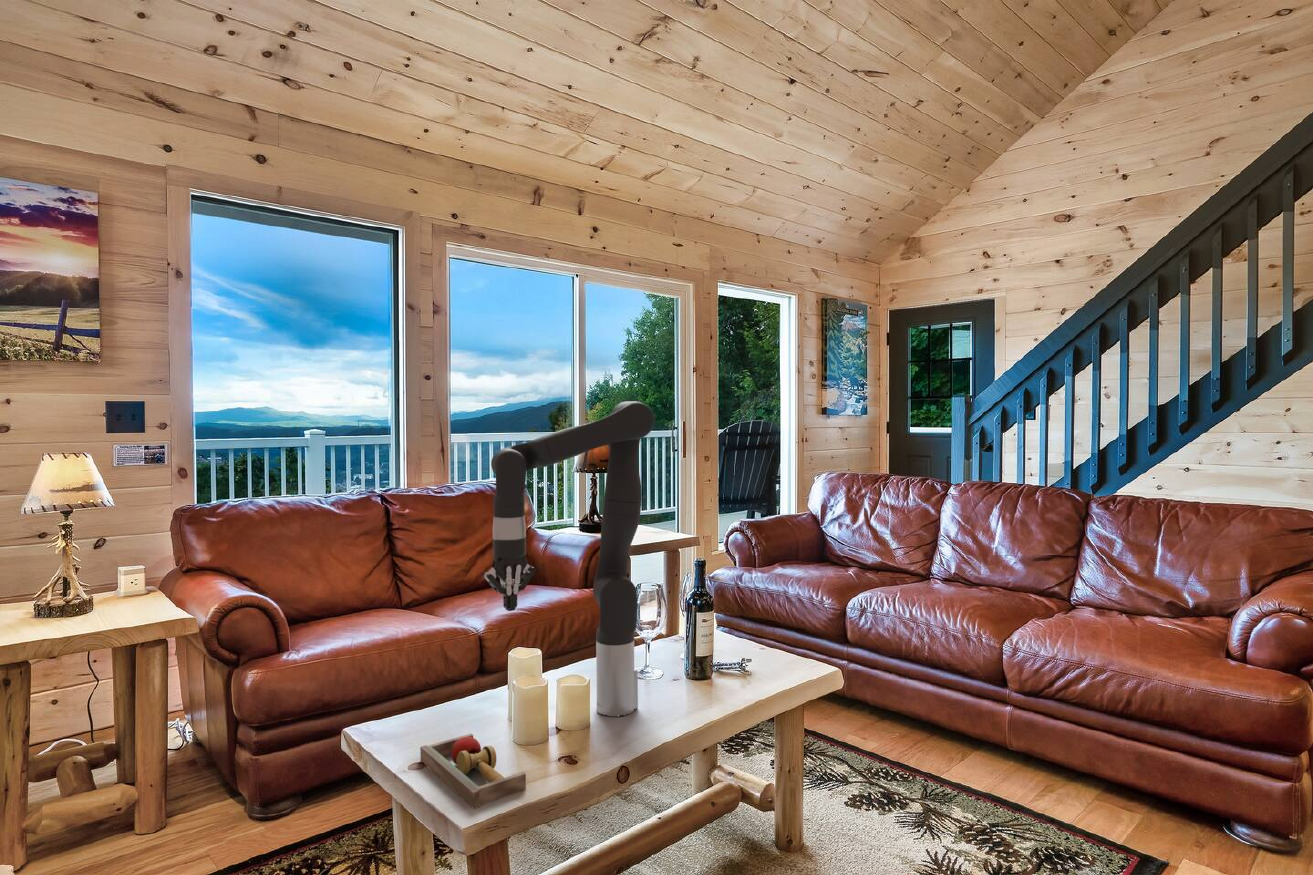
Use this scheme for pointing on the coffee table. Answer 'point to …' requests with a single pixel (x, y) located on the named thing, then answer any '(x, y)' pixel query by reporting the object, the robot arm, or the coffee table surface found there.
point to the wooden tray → (462, 783)
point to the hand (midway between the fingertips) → (510, 609)
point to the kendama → (475, 758)
